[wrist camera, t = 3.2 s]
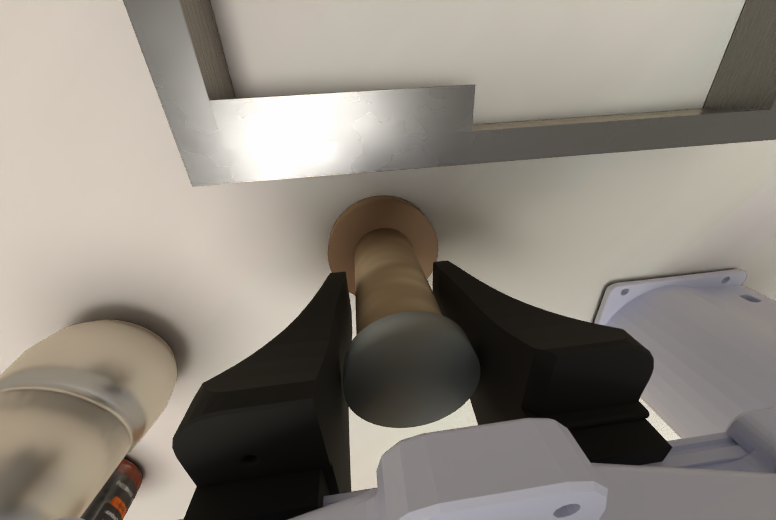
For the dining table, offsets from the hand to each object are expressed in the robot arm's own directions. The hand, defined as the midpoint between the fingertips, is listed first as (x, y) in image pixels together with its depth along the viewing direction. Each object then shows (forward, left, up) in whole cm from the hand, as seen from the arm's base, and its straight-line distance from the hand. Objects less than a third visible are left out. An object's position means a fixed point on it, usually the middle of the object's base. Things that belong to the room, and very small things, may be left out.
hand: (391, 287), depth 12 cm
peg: (0, 0, -4) cm, 4 cm away
